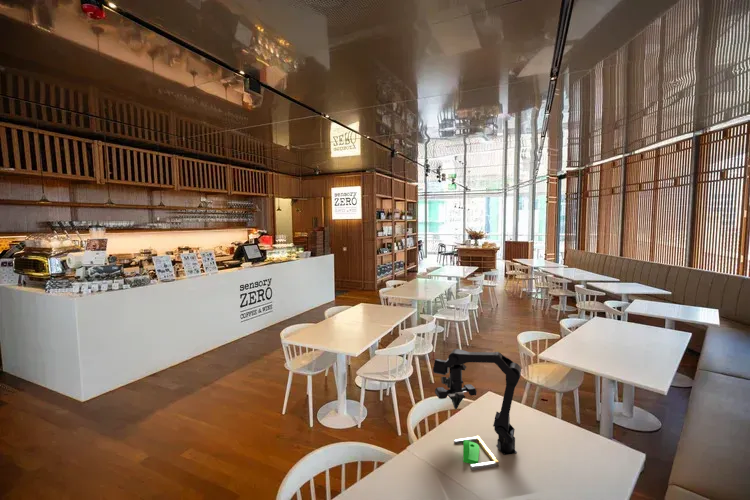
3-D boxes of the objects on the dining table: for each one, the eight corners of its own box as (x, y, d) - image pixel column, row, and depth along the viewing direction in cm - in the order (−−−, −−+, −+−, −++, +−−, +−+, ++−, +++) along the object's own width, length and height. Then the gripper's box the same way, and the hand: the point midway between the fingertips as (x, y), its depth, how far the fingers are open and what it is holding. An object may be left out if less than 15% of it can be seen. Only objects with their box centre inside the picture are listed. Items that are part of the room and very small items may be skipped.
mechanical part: (477, 465, 137) (478, 447, 137) (463, 462, 140) (463, 444, 139) (479, 447, 149) (479, 430, 148) (465, 444, 151) (465, 427, 150)
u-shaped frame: (478, 439, 154) (478, 435, 154) (498, 465, 137) (498, 461, 137) (454, 442, 152) (454, 439, 152) (471, 470, 135) (471, 465, 135)
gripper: (466, 367, 165) (466, 397, 166) (430, 371, 162) (430, 401, 163) (477, 377, 154) (476, 410, 155) (439, 381, 151) (439, 414, 152)
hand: (455, 408), depth 157 cm, fingers closed
